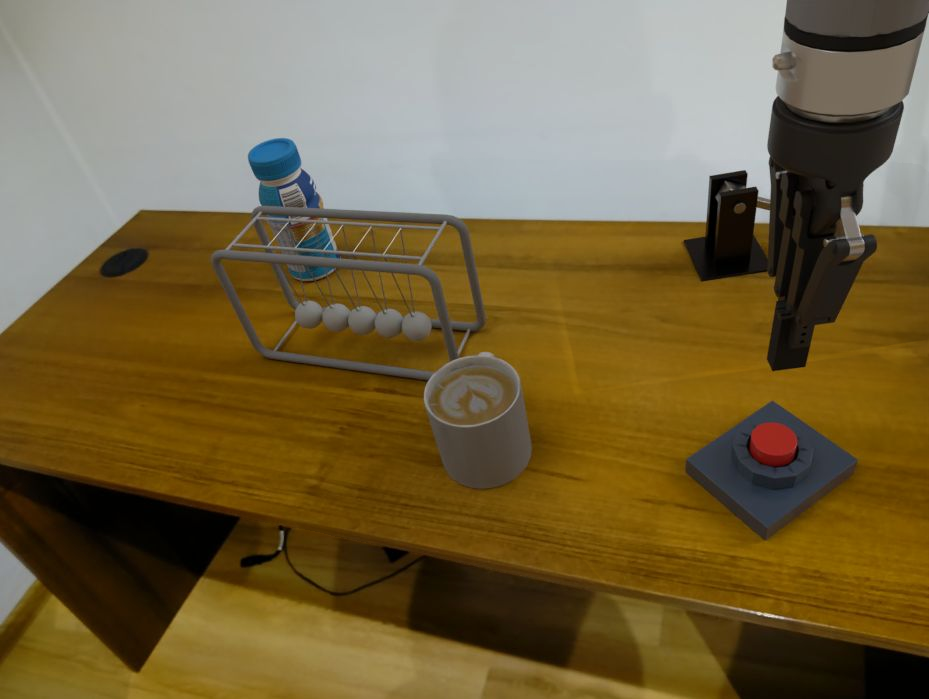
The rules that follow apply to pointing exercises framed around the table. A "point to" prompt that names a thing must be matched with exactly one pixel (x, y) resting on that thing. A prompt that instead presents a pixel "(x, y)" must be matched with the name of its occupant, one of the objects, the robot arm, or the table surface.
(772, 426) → the button
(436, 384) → the coffee mug
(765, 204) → the lever
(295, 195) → the beverage bottle
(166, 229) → the table surface
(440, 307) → the newton's cradle
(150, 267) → the table surface
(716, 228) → the bracket
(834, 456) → the button block
